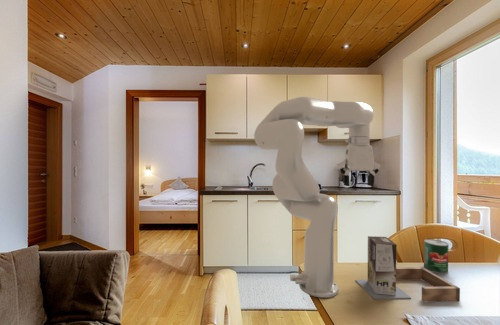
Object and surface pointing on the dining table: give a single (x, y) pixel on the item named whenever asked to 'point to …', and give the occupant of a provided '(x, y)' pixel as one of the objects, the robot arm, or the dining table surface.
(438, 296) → the cubby
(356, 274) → the dining table surface
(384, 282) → the coffee box
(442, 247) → the canned tomato
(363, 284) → the mat
